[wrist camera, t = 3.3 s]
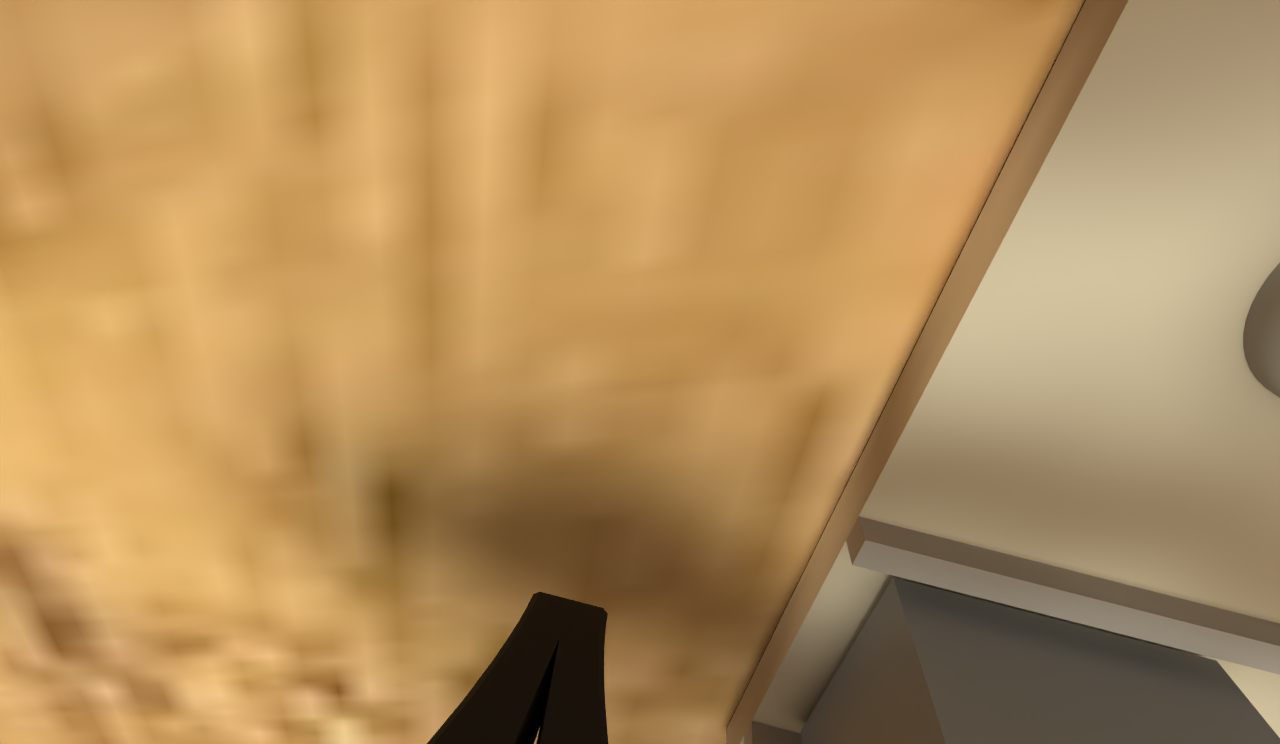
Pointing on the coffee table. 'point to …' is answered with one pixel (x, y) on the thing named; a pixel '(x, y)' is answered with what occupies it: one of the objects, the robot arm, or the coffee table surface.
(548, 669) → the robot arm
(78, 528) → the coffee table surface
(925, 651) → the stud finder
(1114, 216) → the cream ridged tray
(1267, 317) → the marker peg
